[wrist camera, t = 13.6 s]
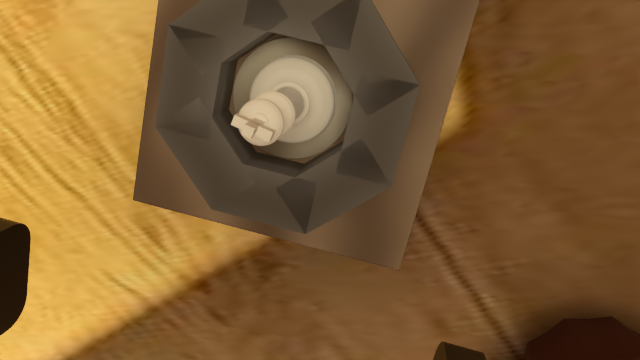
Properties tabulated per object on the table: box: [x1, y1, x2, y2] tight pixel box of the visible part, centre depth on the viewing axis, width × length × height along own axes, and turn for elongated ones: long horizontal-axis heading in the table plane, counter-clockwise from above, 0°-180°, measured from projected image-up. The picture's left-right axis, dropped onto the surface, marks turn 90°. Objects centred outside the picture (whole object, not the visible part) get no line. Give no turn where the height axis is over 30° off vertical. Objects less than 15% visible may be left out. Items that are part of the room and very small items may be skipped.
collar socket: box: [133, 0, 480, 270], centre depth 30 cm, size 17×17×4 cm
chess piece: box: [231, 55, 337, 146], centre depth 25 cm, size 5×5×10 cm
